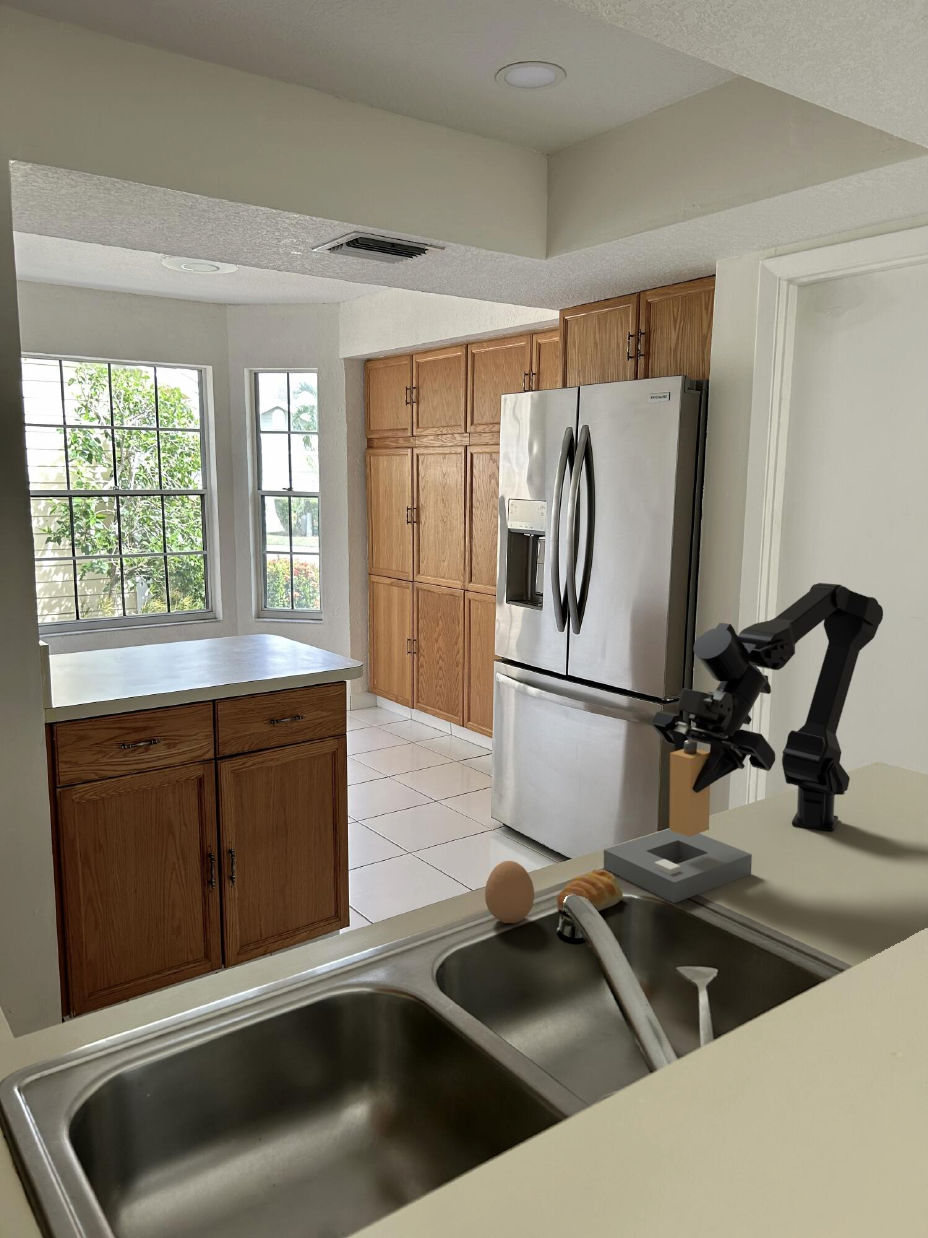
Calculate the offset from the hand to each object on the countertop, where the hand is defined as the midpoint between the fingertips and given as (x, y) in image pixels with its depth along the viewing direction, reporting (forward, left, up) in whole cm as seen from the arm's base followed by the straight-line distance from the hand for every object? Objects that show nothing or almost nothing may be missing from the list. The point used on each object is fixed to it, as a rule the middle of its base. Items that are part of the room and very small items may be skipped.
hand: (683, 787), depth 130 cm
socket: (-2, -1, -14) cm, 14 cm away
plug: (-1, +1, -7) cm, 7 cm away
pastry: (+13, -9, -14) cm, 21 cm away
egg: (+23, -16, -14) cm, 32 cm away
